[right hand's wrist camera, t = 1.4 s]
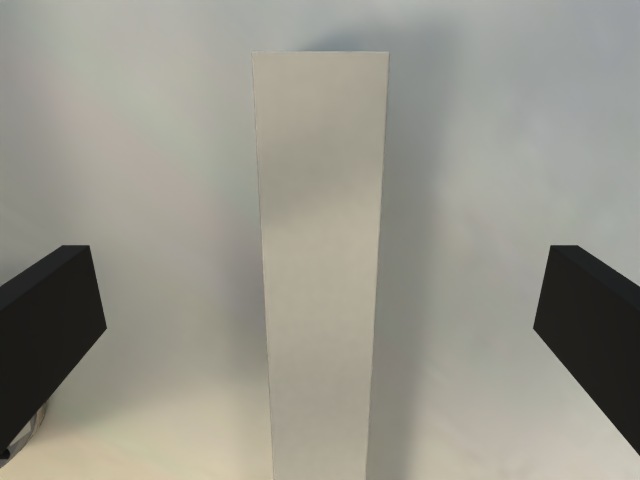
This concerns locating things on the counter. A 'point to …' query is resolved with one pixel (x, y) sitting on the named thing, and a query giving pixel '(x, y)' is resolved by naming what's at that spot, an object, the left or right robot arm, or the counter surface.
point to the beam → (320, 251)
